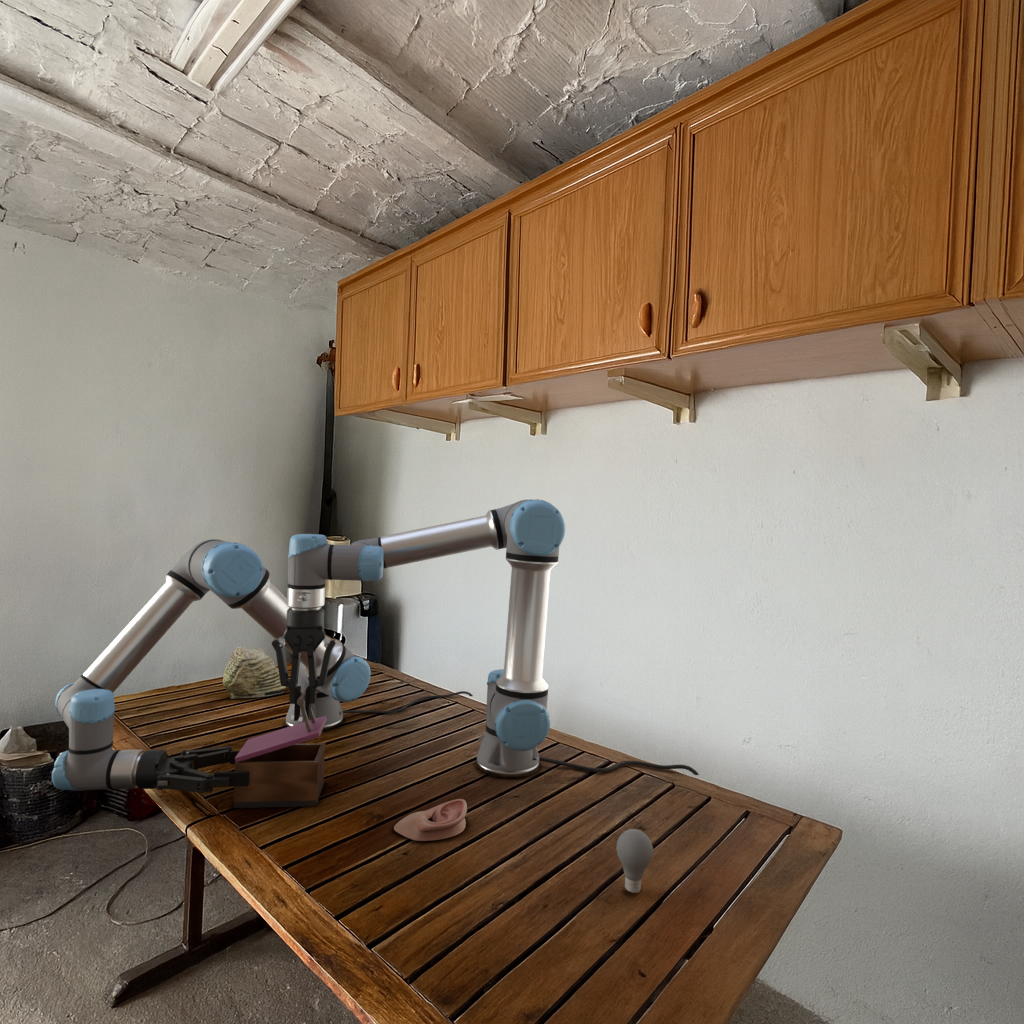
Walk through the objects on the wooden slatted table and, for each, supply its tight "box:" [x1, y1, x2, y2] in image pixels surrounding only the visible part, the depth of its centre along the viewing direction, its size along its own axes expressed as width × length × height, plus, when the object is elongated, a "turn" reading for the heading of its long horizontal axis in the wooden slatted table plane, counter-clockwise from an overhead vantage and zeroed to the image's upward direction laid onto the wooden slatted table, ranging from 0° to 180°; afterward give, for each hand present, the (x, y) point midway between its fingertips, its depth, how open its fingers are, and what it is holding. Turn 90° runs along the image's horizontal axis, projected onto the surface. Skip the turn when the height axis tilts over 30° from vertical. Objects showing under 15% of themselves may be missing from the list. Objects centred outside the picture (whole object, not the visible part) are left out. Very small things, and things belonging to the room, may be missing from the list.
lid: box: [235, 690, 327, 763], centre depth 133 cm, size 17×10×8 cm, turn 98°
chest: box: [232, 742, 326, 809], centre depth 133 cm, size 16×10×9 cm, turn 98°
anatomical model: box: [393, 798, 468, 842], centre depth 123 cm, size 13×4×12 cm
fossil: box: [222, 646, 287, 699], centre depth 198 cm, size 9×18×15 cm, turn 132°
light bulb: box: [615, 828, 654, 894], centre depth 106 cm, size 6×6×10 cm
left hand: (255, 767), depth 133 cm, fingers closed on chest, 10 cm apart
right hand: (302, 718), depth 134 cm, fingers closed on lid, 1 cm apart
